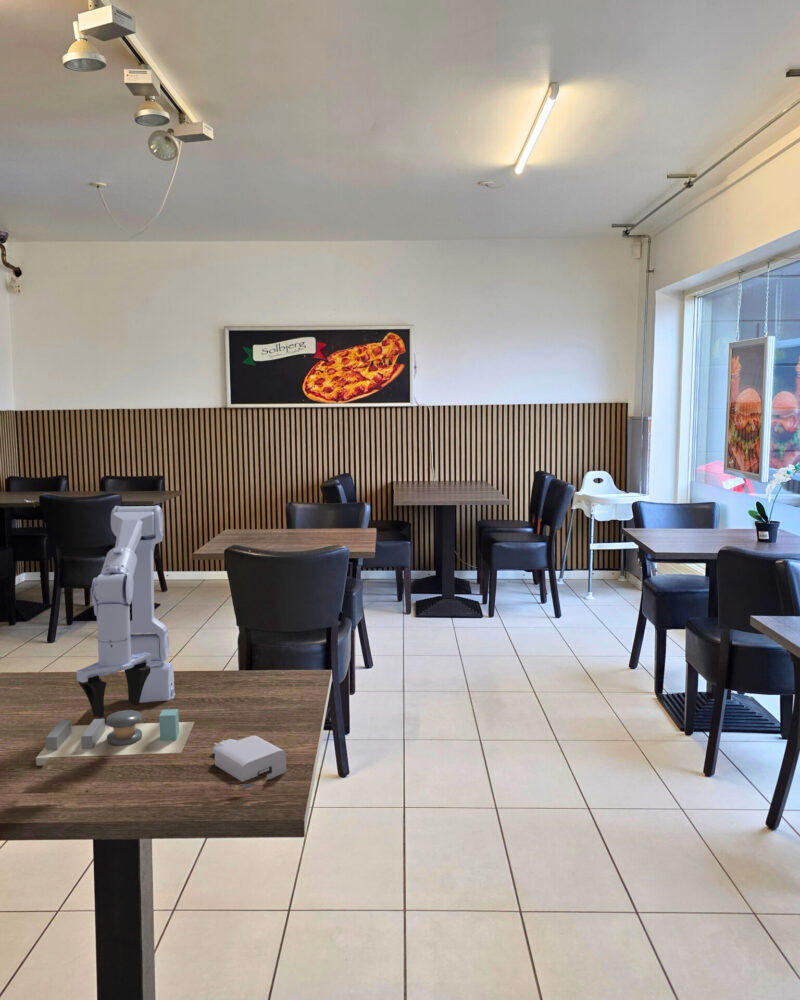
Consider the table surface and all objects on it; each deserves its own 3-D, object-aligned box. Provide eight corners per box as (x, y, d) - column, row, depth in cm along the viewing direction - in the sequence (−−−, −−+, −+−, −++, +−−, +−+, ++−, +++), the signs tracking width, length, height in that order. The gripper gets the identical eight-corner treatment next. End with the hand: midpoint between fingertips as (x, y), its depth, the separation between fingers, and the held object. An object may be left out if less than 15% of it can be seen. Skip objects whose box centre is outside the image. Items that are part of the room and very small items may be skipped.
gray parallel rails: (105, 730, 154) (104, 718, 154) (92, 748, 146) (92, 735, 146) (61, 732, 153) (60, 720, 153) (46, 750, 145) (45, 737, 145)
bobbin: (145, 731, 154) (144, 709, 153) (137, 745, 148) (136, 723, 147) (112, 732, 153) (111, 710, 153) (102, 746, 147) (101, 724, 146)
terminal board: (194, 728, 159) (194, 721, 158) (181, 760, 145) (181, 752, 145) (62, 733, 156) (62, 726, 156) (36, 765, 143) (35, 757, 142)
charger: (239, 747, 151) (286, 773, 140) (197, 762, 144) (242, 791, 134) (239, 723, 150) (285, 748, 140) (196, 738, 144) (242, 765, 133)
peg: (179, 733, 153) (178, 709, 152) (176, 740, 150) (175, 715, 149) (163, 734, 153) (162, 709, 152) (160, 740, 150) (159, 715, 149)
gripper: (91, 650, 136) (94, 726, 137) (160, 633, 148) (162, 703, 149) (68, 644, 140) (71, 718, 141) (137, 628, 152) (139, 696, 153)
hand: (116, 710), depth 145 cm, fingers open, 7 cm apart
